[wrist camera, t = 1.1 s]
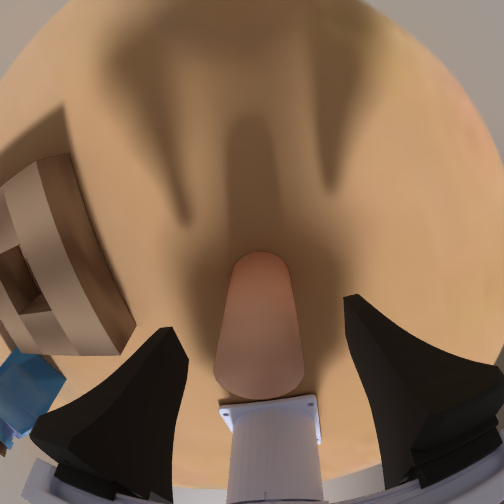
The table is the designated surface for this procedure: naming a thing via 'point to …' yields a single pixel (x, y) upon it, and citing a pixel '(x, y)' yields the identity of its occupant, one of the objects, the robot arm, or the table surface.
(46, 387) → the perfume bottle
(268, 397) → the peg
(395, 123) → the table surface
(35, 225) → the socket
